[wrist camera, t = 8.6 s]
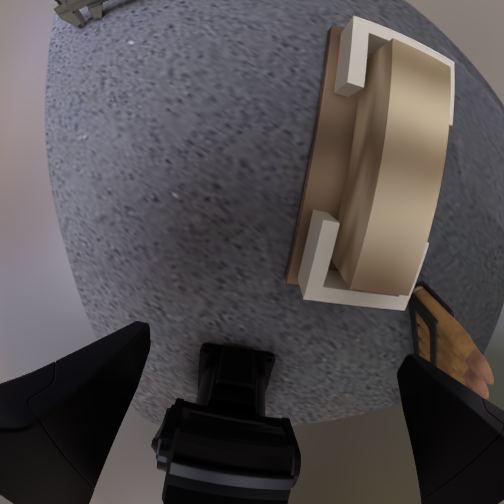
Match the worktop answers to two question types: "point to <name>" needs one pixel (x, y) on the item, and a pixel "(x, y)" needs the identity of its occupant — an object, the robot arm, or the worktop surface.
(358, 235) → the maple slat
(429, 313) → the ammunition clip
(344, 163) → the walnut board
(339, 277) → the end caps
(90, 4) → the caliper
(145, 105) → the worktop surface
